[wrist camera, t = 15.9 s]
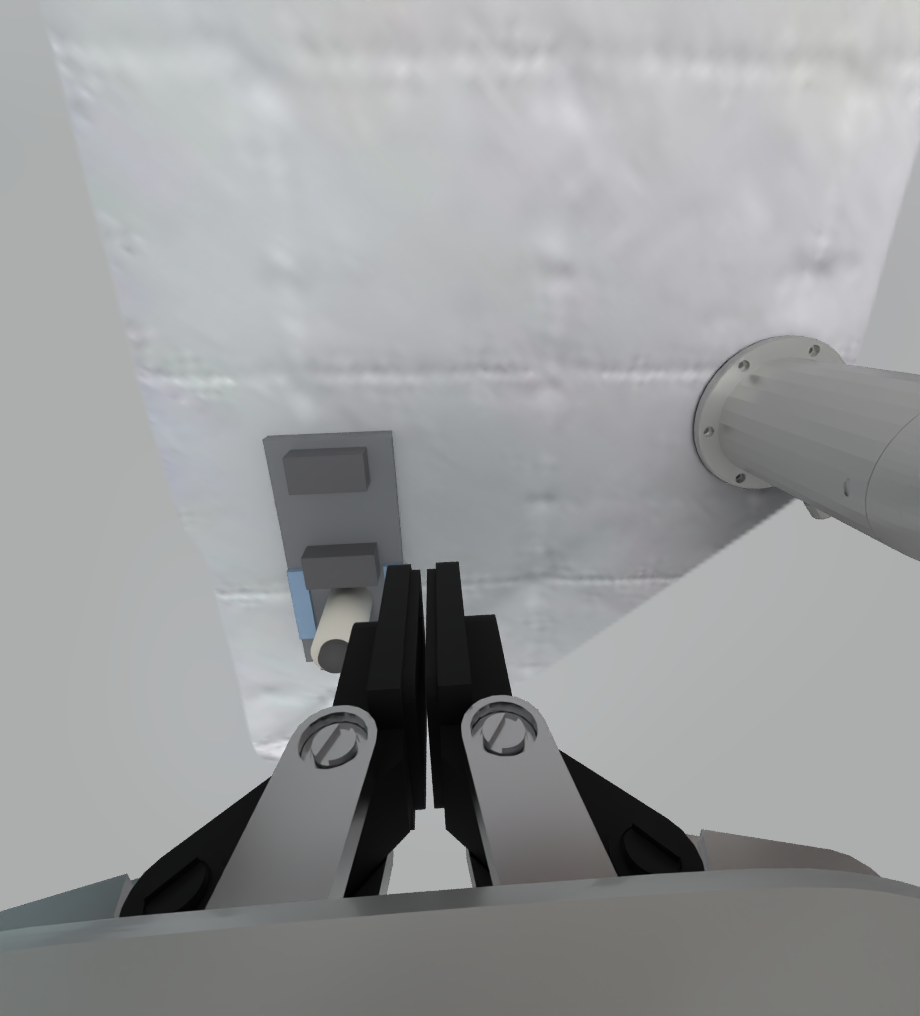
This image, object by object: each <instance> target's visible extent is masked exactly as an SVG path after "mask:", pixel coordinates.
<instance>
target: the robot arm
mask: <svg viewBox="0 0 920 1016" xmlns="http://www.w3.org/2000/svg"><path fill="white" fill-rule="evenodd" d="M739 364H740V366H739ZM705 429H706V430H705ZM704 430H705V431H704ZM694 438H695V444H696V448H697V452H698V454H699V456H700V458H701V460H702V462H703V464H704V465H705V466H706V467H707V468H708V469H709V471H710V472H711V473H712V474H714V475H715V476H717V477H718V478H720V479H721V480H723V481H725V482H727V483H729V484H731V485H733V486H737V487H741V488H745V489H763V488H771V487H774V486H775V487H777V488H779V489H781V490H782V491H784V492H786V493H788V494H790V495H792V496H794V497H796V498H798V499H800V500H802V501H803V502H804V504H805V506H806V507H807V509H808V510H809V512H810V514H811V515H812V517H814V518H815V519H826V518H829V517H831V516H832V517H834V518H836V519H838V520H840V521H841V522H843V523H845V524H847V525H849V526H852V527H853V528H855V529H857V530H859V531H861V532H863V533H864V534H866V535H868V536H870V537H872V538H874V539H876V540H878V541H880V542H882V543H884V544H885V545H887V546H889V547H891V548H893V549H895V550H897V551H899V552H901V553H903V554H905V555H907V556H909V557H911V558H913V559H916V560H918V561H920V375H917V374H910V373H903V372H896V371H889V370H882V369H875V368H868V367H860V366H854V365H846V364H845V362H844V361H843V359H842V358H841V357H840V355H839V354H838V353H837V352H836V351H835V350H834V349H832V348H831V347H830V346H829V345H827V344H825V343H823V342H821V341H819V340H817V339H813V338H808V337H803V336H780V337H772V338H769V339H766V340H763V341H760V342H757V343H755V344H753V345H751V346H749V347H747V348H745V349H743V350H742V351H740V352H739V353H738V354H736V355H735V356H734V357H732V358H731V359H730V360H729V361H728V362H727V363H726V364H725V365H724V366H723V367H722V368H721V369H720V370H719V371H718V372H717V373H716V374H715V376H714V377H713V378H712V380H711V381H710V383H709V384H708V385H707V387H706V389H705V391H704V393H703V395H702V397H701V399H700V402H699V405H698V408H697V412H696V416H695V423H694ZM427 718H428V731H429V744H430V757H431V770H432V784H433V796H434V808H444V809H445V824H446V830H447V831H449V832H450V833H451V834H452V835H453V836H454V837H455V838H456V839H457V840H458V841H460V842H461V843H462V844H463V845H464V846H465V847H466V856H467V863H468V868H469V873H470V877H471V882H472V887H473V888H464V889H453V890H452V889H451V890H439V891H426V892H414V893H403V894H402V893H401V894H389V895H387V890H388V885H389V880H390V876H391V871H392V866H393V849H394V848H395V847H396V846H397V845H398V844H399V843H400V842H401V840H403V838H404V837H405V836H406V835H407V834H408V833H409V832H410V830H415V829H414V828H415V810H422V809H425V808H426V743H427ZM0 1016H920V887H918V886H914V885H911V884H908V883H904V882H900V881H896V880H891V879H887V878H882V877H880V876H879V875H878V874H877V873H876V872H874V871H873V870H872V869H871V868H870V867H868V866H866V865H865V864H863V863H861V862H859V861H858V860H856V859H854V858H853V857H851V856H849V855H846V854H843V853H839V852H836V851H833V850H829V849H822V848H817V847H810V846H804V845H797V844H792V843H785V842H779V841H773V840H766V839H760V838H754V837H747V836H741V835H734V834H728V833H722V832H715V831H709V830H703V829H702V830H701V833H700V836H694V835H688V834H685V833H684V832H683V831H682V830H681V829H680V828H679V827H677V826H676V825H675V824H674V823H672V822H671V821H670V820H669V819H667V818H666V817H664V816H662V815H661V814H659V813H658V812H656V811H655V810H653V809H652V808H650V807H648V806H647V805H645V804H644V803H642V802H640V801H639V800H637V799H636V798H634V797H633V796H631V795H629V794H628V793H626V792H625V791H623V790H622V789H620V788H619V787H617V786H615V785H614V784H612V783H610V782H609V781H608V780H606V779H604V778H603V777H601V776H600V775H598V774H596V773H595V772H593V771H592V770H590V769H589V768H587V767H586V766H584V765H582V764H581V763H579V762H578V761H576V760H575V759H573V758H571V757H570V756H568V755H567V754H565V753H563V752H562V751H560V750H559V749H558V748H557V745H556V743H555V741H554V739H553V737H552V734H551V732H550V731H549V728H548V726H547V724H546V722H545V719H544V718H543V717H542V715H541V714H540V712H539V711H538V709H536V708H535V707H534V706H533V705H531V704H530V703H529V702H527V701H524V700H522V699H520V698H518V697H513V696H512V693H511V688H510V683H509V678H508V673H507V669H506V664H505V659H504V654H503V649H502V645H501V640H500V635H499V630H498V625H497V620H496V617H495V615H494V614H492V615H475V616H464V608H463V598H462V589H461V580H460V570H459V562H441V563H436V569H427V607H426V643H425V629H424V615H423V601H422V587H421V574H420V570H412V568H411V564H404V565H388V566H387V571H386V576H385V582H384V588H383V594H382V600H381V606H380V612H379V618H378V621H372V622H355V623H354V624H353V627H352V630H351V634H350V638H349V642H348V646H347V650H346V654H345V658H344V662H343V666H342V670H341V674H340V679H339V683H338V687H337V691H336V695H335V699H334V703H333V707H329V708H326V709H323V710H320V711H319V712H317V713H315V714H313V715H311V716H309V717H308V718H307V719H306V720H305V721H304V722H303V723H301V724H300V725H299V726H298V728H297V729H296V731H295V732H294V734H293V735H292V737H291V739H290V741H289V742H288V744H287V746H286V748H285V750H284V752H283V754H282V756H281V758H280V760H279V762H278V764H277V767H276V768H275V771H274V772H273V774H272V776H271V777H270V778H268V779H267V780H266V781H264V782H263V783H261V784H260V785H259V786H257V787H256V788H255V789H253V790H252V791H251V792H249V793H248V794H247V795H245V796H244V797H243V798H241V799H240V800H239V801H237V802H236V803H234V804H233V805H232V806H230V807H229V808H228V809H227V810H225V811H224V812H222V813H221V814H220V815H218V816H217V817H216V818H214V819H213V820H212V821H210V822H209V823H207V824H206V825H205V826H204V827H202V828H201V829H199V830H198V831H197V832H195V833H194V834H193V835H191V836H190V837H188V838H187V839H186V840H184V841H183V842H182V843H180V844H179V845H178V846H176V847H175V848H174V849H172V850H171V851H170V852H168V853H167V854H166V855H164V856H163V857H161V858H160V859H159V860H158V861H157V862H156V863H155V864H154V865H152V866H151V867H150V868H149V869H148V870H147V871H146V872H145V873H144V874H143V875H142V876H141V878H138V879H134V880H131V881H130V878H129V876H128V874H124V875H121V876H117V877H114V878H111V879H107V880H104V881H101V882H97V883H94V884H91V885H87V886H84V887H81V888H77V889H74V890H71V891H67V892H64V893H61V894H57V895H54V896H51V897H47V898H44V899H41V900H37V901H34V902H31V903H27V904H24V905H21V906H17V907H14V908H11V909H7V910H4V911H1V912H0Z"/></svg>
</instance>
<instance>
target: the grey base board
mask: <svg viewBox="0 0 920 1016" xmlns="http://www.w3.org/2000/svg"><path fill="white" fill-rule="evenodd" d="M263 444H264V449H265V454H266V459H267V464H268V469H269V474H270V479H271V484H272V489H273V494H274V500H275V505H276V510H277V515H278V520H279V525H280V530H281V535H282V540H283V545H284V550H285V555H286V561H287V566H288V571H287V577H288V582H289V587H290V592H291V597H292V602H293V607H294V612H295V617H296V622H297V627H298V632H299V637H300V639H302V642H303V647H304V652H305V657H306V662H313V659H312V657H311V646H312V643H313V640H314V637H315V634H316V631H317V628H318V625H319V622H320V619H321V617H322V614H323V611H324V608H325V605H326V602H327V599H328V596H329V593H330V591H331V590H332V589H333V588H352V587H366V588H367V589H368V590H369V592H370V593H371V596H372V608H371V614H370V619H369V622H372V621H378V618H379V612H380V606H381V600H382V594H383V588H384V582H385V576H386V571H387V566H388V565H403V555H402V543H401V532H400V520H399V509H398V497H397V486H396V475H395V463H394V452H393V440H392V431H373V432H349V433H325V434H302V435H278V436H267V437H266V438H264V439H263ZM321 670H323V669H321Z"/></svg>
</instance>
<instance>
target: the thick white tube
mask: <svg viewBox="0 0 920 1016" xmlns="http://www.w3.org/2000/svg"><path fill="white" fill-rule="evenodd" d="M371 608H372V596H371V593H370V592H369V590H368V589H367V588H366V587H352V588H333V589H332V590H331V591H330V593H329V596H328V599H327V602H326V605H325V608H324V611H323V614H322V617H321V619H320V622H319V625H318V628H317V631H316V634H315V637H314V640H313V643H312V646H311V657H312V659H313V661H314V663H315V664H316V665H317V666H318V667H320V668H321V669H323V670H325V671H327V672H330V673H341V670H342V666H343V662H344V658H345V654H346V650H347V646H348V642H349V638H350V634H351V630H352V627H353V624H354V623H355V622H369V619H370V614H371Z"/></svg>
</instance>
